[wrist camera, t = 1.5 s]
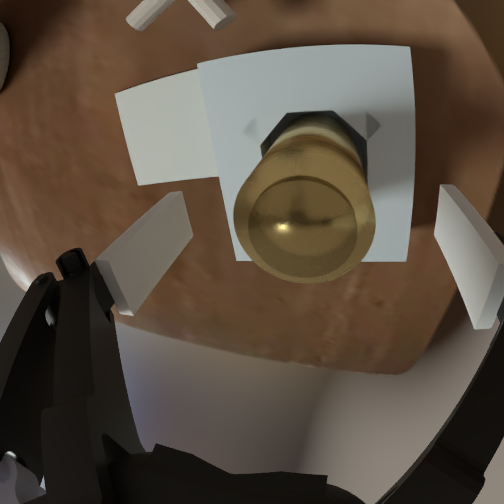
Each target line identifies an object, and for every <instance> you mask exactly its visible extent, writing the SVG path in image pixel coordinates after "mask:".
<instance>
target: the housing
mask: <svg viewBox="0 0 504 504" xmlns="http://www.w3.org/2000/svg"><path fill="white" fill-rule="evenodd" d="M197 66H198V72H199V77H200V82H201V88H202V93H203V98H204V103H205V108H206V114H207V119H208V124H209V129H210V134H211V139H212V144H213V149H214V154H215V159H216V164H217V169H218V174H219V179H220V184H221V189H222V194H223V198H224V203H225V208H226V213H227V218H228V222H229V227H230V232H231V237H232V241H233V246H234V251H235V255H236V260H237V261H253V260H252V259H251V258H250V257H249V256H248V255H247V254H246V252H245V251H244V249H243V248H242V246H241V244H240V243H239V240H238V238H237V235H236V232H235V228H234V222H233V210H234V204H235V200H236V197H237V194H238V192H239V190H240V188H241V186H242V185H243V184H244V182H245V181H246V179H247V178H248V177H249V175H250V174H251V173H252V171H253V170H254V169H255V167H256V166H257V165H258V163H259V162H260V161H261V159H262V158H263V157H264V155H265V154H266V153H267V151H268V150H269V149H270V147H271V146H272V145H273V144H274V142H275V141H276V140H277V138H278V137H279V136H280V134H281V133H282V132H283V131H284V129H285V128H286V127H287V126H288V124H289V123H290V122H291V121H293V120H294V119H295V118H297V117H299V116H301V115H304V114H307V113H324V114H328V115H330V116H333V117H335V118H336V119H338V120H339V121H341V122H342V123H343V124H344V125H345V126H346V127H347V129H348V130H349V132H350V134H351V136H352V138H353V141H354V144H355V147H356V150H357V153H358V156H359V159H360V162H361V165H362V168H363V172H364V175H365V178H366V182H367V185H368V188H369V192H370V195H371V199H372V203H373V206H374V211H375V217H376V229H375V235H374V239H373V242H372V245H371V247H370V249H369V251H368V253H367V254H366V256H365V257H364V258H363V260H362V261H406V259H407V252H408V244H409V236H410V228H411V218H412V207H413V194H414V177H415V100H414V84H413V71H412V61H411V52H410V47H405V46H391V45H320V46H305V47H294V48H284V49H275V50H268V51H260V52H254V53H248V54H242V55H236V56H231V57H226V58H221V59H216V60H211V61H207V62H202V63H198V64H197Z"/></svg>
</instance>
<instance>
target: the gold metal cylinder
mask: <svg viewBox="0 0 504 504" xmlns="http://www.w3.org/2000/svg"><path fill="white" fill-rule="evenodd" d="M233 222H234V228H235V232H236V235H237V238H238V240H239V243H240V244H241V246H242V248H243V249H244V251H245V252H246V254H247V255H248V256H249V257H250V258H251V259H252V260H253V261H254V262H255V263H256V264H257V265H258V266H259V267H261V268H262V269H264V270H265V271H267V272H268V273H270V274H272V275H274V276H276V277H279V278H281V279H284V280H288V281H291V282H297V283H320V282H326V281H330V280H333V279H336V278H338V277H340V276H342V275H344V274H346V273H348V272H349V271H351V270H352V269H353V268H355V267H356V266H357V265H358V264H359V263H360V262H361V261H362V260H363V258H364V257H365V256H366V254H367V253H368V251H369V249H370V247H371V245H372V242H373V239H374V235H375V229H376V217H375V211H374V206H373V203H372V199H371V195H370V192H369V188H368V185H367V182H366V178H365V175H364V172H363V168H362V165H361V162H360V159H359V156H358V153H357V150H356V147H355V144H354V141H353V138H352V136H351V134H350V132H349V130H348V129H347V127H346V126H345V125H344V124H343V123H342V122H341V121H339V120H338V119H336V118H335V117H333V116H330V115H328V114H324V113H307V114H304V115H301V116H299V117H297V118H295V119H294V120H293V121H291V122H290V123H289V124H288V126H287V127H286V128H285V129H284V131H283V132H282V133H281V134H280V136H279V137H278V138H277V140H276V141H275V142H274V144H273V145H272V146H271V147H270V149H269V150H268V151H267V153H266V154H265V155H264V157H263V158H262V159H261V161H260V162H259V163H258V165H257V166H256V167H255V169H254V170H253V171H252V173H251V174H250V175H249V177H248V178H247V179H246V181H245V182H244V184H243V185H242V186H241V188H240V190H239V192H238V194H237V197H236V200H235V204H234V210H233Z"/></svg>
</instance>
